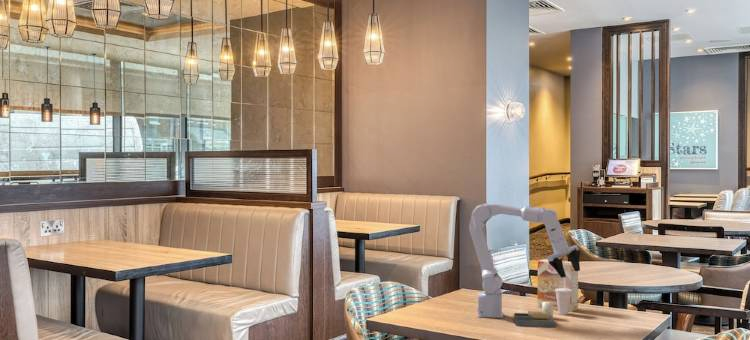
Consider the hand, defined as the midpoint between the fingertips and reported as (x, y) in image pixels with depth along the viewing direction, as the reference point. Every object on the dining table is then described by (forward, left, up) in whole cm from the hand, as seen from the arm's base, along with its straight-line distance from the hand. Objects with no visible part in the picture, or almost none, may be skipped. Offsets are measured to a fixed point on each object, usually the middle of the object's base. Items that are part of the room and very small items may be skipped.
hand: (570, 274), depth 245 cm
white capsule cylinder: (-8, +5, -18) cm, 21 cm away
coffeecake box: (-2, +23, -18) cm, 30 cm away
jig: (-14, -4, -18) cm, 23 cm away
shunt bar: (-12, -4, -16) cm, 20 cm away
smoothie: (-1, +13, -18) cm, 23 cm away
